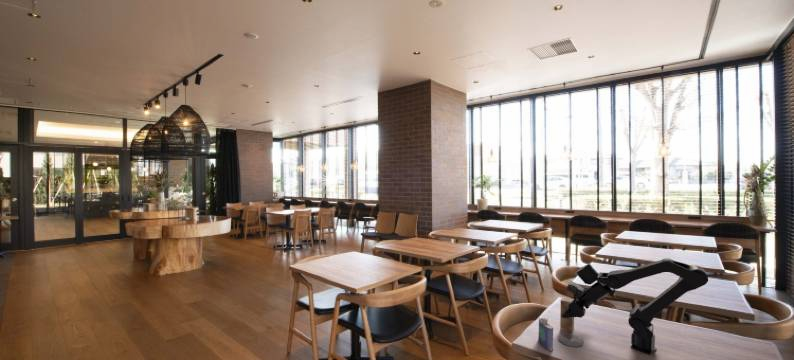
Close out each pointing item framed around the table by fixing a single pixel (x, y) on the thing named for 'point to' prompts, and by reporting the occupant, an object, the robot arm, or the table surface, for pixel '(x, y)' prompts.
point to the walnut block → (566, 323)
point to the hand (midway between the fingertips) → (564, 313)
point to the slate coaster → (570, 340)
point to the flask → (545, 334)
